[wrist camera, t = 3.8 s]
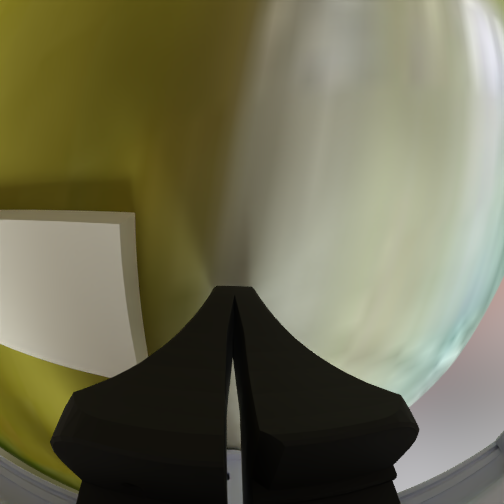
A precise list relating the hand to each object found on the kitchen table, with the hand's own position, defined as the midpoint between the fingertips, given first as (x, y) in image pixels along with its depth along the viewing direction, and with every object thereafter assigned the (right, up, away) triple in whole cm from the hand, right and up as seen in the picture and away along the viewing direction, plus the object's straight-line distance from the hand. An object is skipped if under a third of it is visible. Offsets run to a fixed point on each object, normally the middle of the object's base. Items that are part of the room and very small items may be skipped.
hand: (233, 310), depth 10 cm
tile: (-10, +1, +1) cm, 10 cm away
